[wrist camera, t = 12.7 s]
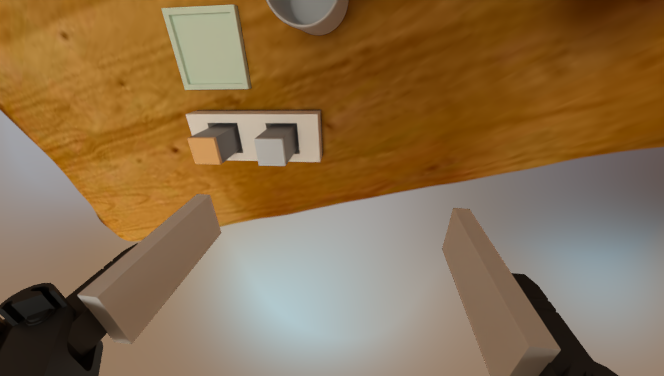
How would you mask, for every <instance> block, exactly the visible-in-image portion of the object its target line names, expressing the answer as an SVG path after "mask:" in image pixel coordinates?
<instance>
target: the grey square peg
mask: <svg viewBox="0 0 664 376" xmlns="http://www.w3.org/2000/svg"><path fill="white" fill-rule="evenodd" d="M254 142H255V147H256V153H257V158H258V164H259V165H260V166H286V164H287V163H288V161H289V160H290V159H291V157H292V156H293V154H294V153H295V151H296V150H297V148H298V147H299V140H298V129H297V123H274V124H273V125H271V126H270V127H269V128H267V129H266V130H265V131H264V132H262V133H261V134H260V135H258V136H257V137H256V138H255V139H254Z"/></svg>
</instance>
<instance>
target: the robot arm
mask: <svg viewBox="0 0 664 376" xmlns="http://www.w3.org/2000/svg"><path fill="white" fill-rule="evenodd" d="M220 234H221V231H220V227H219V224H218V221H217V217H216V214H215V211H214V207H213V204H212V201H211V197H210V195H204V194H197V195H196V196H194V197H193V198H192V199H191V200H190V201H188V202H187V203H186V204H185V205H184V206H182V207H181V208H180V209H179V210H178V211H176V212H175V213H174V214H173V215H172V216H171V217H169V218H168V219H167V220H166V221H165V222H163V223H162V224H161V225H160V226H159V227H157V228H156V229H155V230H154V231H153V232H151V233H150V234H149V235H148V236H147V237H145V238H144V239H143V240H142V241H141V242H140V243H137V244H135V245H133V246H132V247H130V248H128V249H126V250H124V251H123V252H122V253H120V254H119V255H118V256H117V257H115V258H114V259H113V261H112V262H109V263H108V264H107V265H106V266H104V269H101V270H100V271H98V272H97V273H96V274H95V275H93V276H92V277H91V278H90V279H89V280H87V281H86V282H85V283H84V284H83V285H81V286H80V287H79V288H78V289H76V290H75V291H74V292H73V293H72V294H70V295H69V296H68V297H67V298H65V297H64V296H63V295H62V294H61V293H60V292H59V290H58V289H57V288H56V287H55V286H54V285H53V284H51V283H41V284H37V285H33V286H31V287H28V288H26V289H23V290H21V291H20V292H18V293H16V294H14V295H13V296H11V297H10V298H8V299H7V300H5V301H4V302H3V303H2V304H1V305H0V314H1V315H2V316H3V317H4V318H5V319H4V320H3V319H2V318H0V376H98V375H99V369H100V363H101V356H102V350H103V343H102V341H101V339H102V338H103V337H104V336H105V334H106V333H108V334H109V336H110V337H111V338H112V340H113V341H114V342H121V343H127V344H132V343H133V342H134V341H135V339H136V338H137V337H138V336H139V335H140V333H141V332H142V331H143V330H144V328H145V327H146V326H147V325H148V323H149V322H150V321H151V320H152V319H153V317H154V316H155V314H157V312H158V311H159V310H160V309H161V307H162V306H163V305H164V304H165V302H166V301H167V300H168V299H169V297H170V296H171V295H172V294H173V292H174V291H175V290H176V289H177V287H178V286H179V285H180V283H181V282H182V281H183V280H184V279H185V277H186V276H187V275H188V274H189V272H190V271H191V270H192V269H193V268H194V266H195V265H196V264H197V262H198V261H199V260H200V259H201V258H202V256H203V255H204V254H205V253H206V251H207V250H208V249H209V248H210V246H211V245H212V244H213V242H214V241H215V240H216V239H217V238H218V236H219V235H220ZM442 250H443V253H444V255H445V258H446V261H447V263H448V266H449V269H450V271H451V274H452V277H453V279H454V282H455V285H456V287H457V290H458V292H459V295H460V298H461V300H462V303H463V306H464V308H465V311H466V314H467V316H468V319H469V321H470V324H471V327H472V329H473V332H474V335H475V337H476V340H477V342H478V345H479V348H480V350H481V353H482V356H483V358H484V361H485V364H486V366H487V369H488V371H489V374H490V376H618V375H617V374H615V373H614V372H612V371H611V370H610V369H608V368H607V367H605V366H603V365H601V364H598V363H596V362H594V361H593V360H592V358H591V357H590V356H589V355H588V353H587V352H586V350H585V349H584V348H583V346H582V345H581V344H580V342H579V341H578V340H577V338H576V337H575V335H574V334H573V333H572V331H571V330H570V329H569V327H568V326H567V324H566V323H565V322H564V320H563V319H562V318H561V316H560V315H559V313H556V309H555V308H554V307H553V305H552V304H551V303H550V302H549V301H548V298H547V297H546V296H545V294H544V293H543V292H542V290H541V289H540V287H539V286H538V285H537V284H535V283H534V282H533V281H532V280H531V279H529V278H528V277H527V276H526V275H524V274H513V273H511V272H510V271H509V269H508V267H507V266H506V265H505V263H504V261H503V260H502V258H501V257H500V255H499V254H498V252H497V251H496V249H495V247H494V246H493V244H492V243H491V241H490V240H489V238H488V237H487V235H486V234H485V232H484V231H483V229H482V227H481V226H480V224H479V223H478V221H477V220H476V218H475V217H474V215H473V214H472V212H471V211H470V209H462V208H453V211H452V215H451V218H450V222H449V226H448V230H447V233H446V237H445V240H444V244H443V248H442Z"/></svg>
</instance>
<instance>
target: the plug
mask: <svg viewBox="0 0 664 376" xmlns="http://www.w3.org/2000/svg"><path fill="white" fill-rule="evenodd" d="M187 139H188V142H189V145H190V148H191V151H192V155H193V158H194V161H195V164H222V163H223V162H224V161H226V160H227V159H228V158H229V157H231V156H232V155H233V154H235V153H236V152H237V151H238V150H240V149H241V148H242V144H241V139H240V134H239V129H238V125H237V123H218V124H216V125H214V126H212V127H210V128H208V129H205V130H203V131H201V132H199V133H197V134H195V135H193V136H191V137H189V138H187Z"/></svg>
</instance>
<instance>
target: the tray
mask: <svg viewBox="0 0 664 376" xmlns="http://www.w3.org/2000/svg"><path fill="white" fill-rule="evenodd" d="M161 9H162V12H163V16H164V19H165V23H166V26H167V29H168V33H169V36H170V40H171V43H172V47H173V50H174V53H175V57H176V60H177V64H178V67H179V71H180V74H181V77H182V81H183V84H184V88H185V90H208V89H250V88H251V83H250V77H249V71H248V65H247V60H246V54H245V48H244V42H243V36H242V30H241V24H240V18H239V12H238V6H236V5H217V6H197V7H178V8H161Z"/></svg>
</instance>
